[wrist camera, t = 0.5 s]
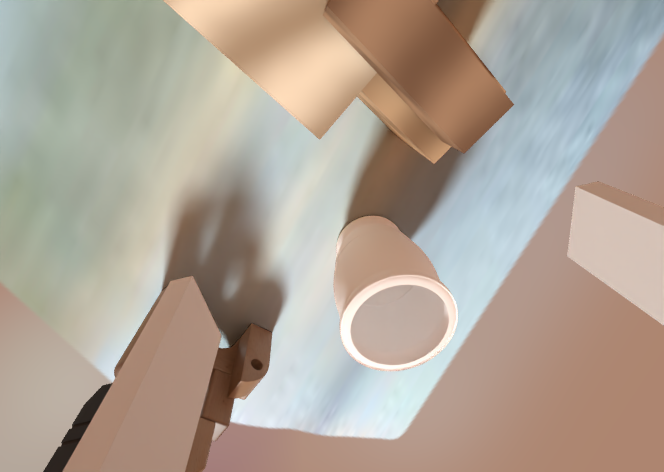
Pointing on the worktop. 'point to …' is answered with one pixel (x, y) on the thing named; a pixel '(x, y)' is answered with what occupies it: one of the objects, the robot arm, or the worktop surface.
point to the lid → (285, 53)
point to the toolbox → (406, 114)
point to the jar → (389, 297)
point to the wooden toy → (222, 385)
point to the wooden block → (423, 65)
